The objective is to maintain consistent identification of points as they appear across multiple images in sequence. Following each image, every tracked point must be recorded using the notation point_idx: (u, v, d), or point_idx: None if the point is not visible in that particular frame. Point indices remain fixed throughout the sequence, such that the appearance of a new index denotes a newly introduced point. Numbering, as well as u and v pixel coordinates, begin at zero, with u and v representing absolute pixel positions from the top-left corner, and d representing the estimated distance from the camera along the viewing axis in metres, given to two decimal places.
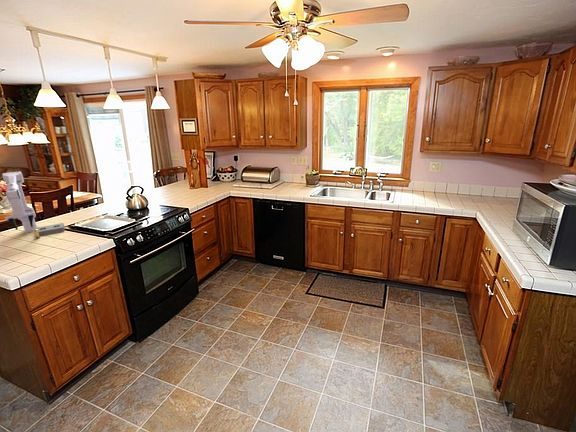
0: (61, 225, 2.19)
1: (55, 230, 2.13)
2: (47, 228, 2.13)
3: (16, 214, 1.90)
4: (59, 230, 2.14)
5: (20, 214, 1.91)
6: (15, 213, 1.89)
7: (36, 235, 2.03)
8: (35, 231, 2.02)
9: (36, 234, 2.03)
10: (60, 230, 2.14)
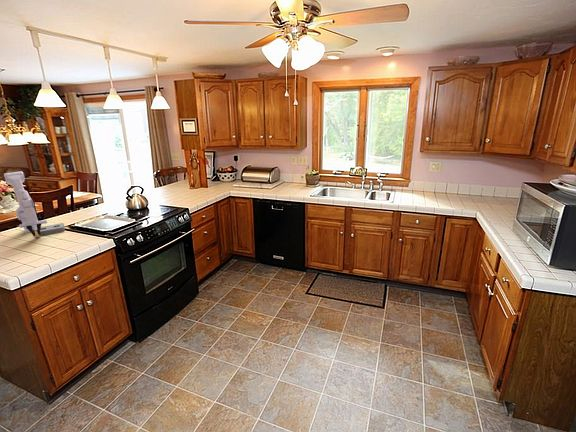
0: (61, 225, 2.19)
1: (55, 230, 2.13)
2: (47, 228, 2.13)
3: (29, 222, 1.98)
4: (59, 230, 2.14)
5: (33, 222, 1.99)
6: (28, 221, 1.98)
7: (36, 235, 2.03)
8: (35, 231, 2.02)
9: (36, 234, 2.03)
10: (60, 230, 2.14)
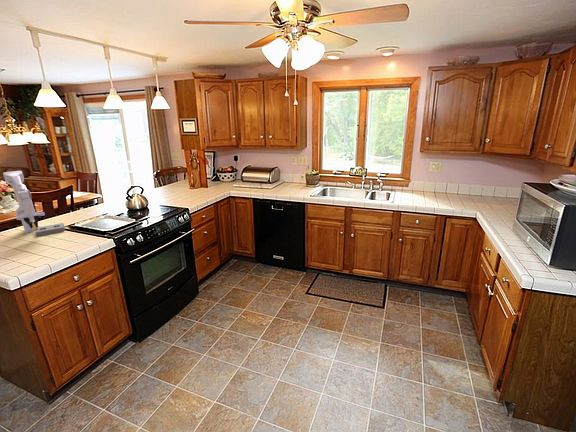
0: (61, 225, 2.19)
1: (55, 230, 2.13)
2: (47, 228, 2.13)
3: (27, 214, 1.96)
4: (59, 230, 2.14)
5: (30, 214, 1.97)
6: (26, 213, 1.96)
7: (33, 227, 2.01)
8: (32, 223, 2.00)
9: (33, 226, 2.01)
10: (60, 230, 2.14)
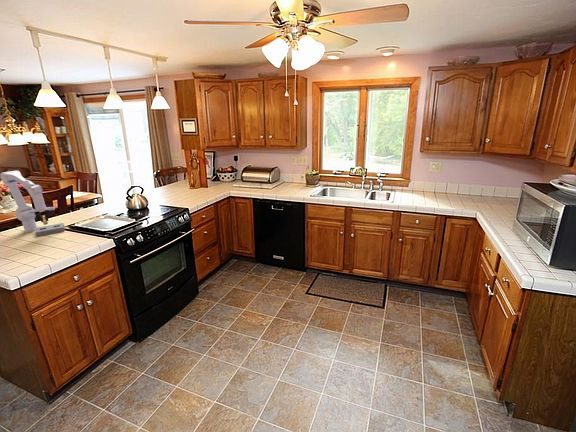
0: (61, 225, 2.19)
1: (55, 230, 2.13)
2: (47, 228, 2.13)
3: (37, 208, 2.03)
4: (59, 230, 2.14)
5: (41, 208, 2.04)
6: (37, 207, 2.03)
7: (44, 221, 2.08)
8: (43, 217, 2.07)
9: (44, 220, 2.07)
10: (60, 230, 2.14)
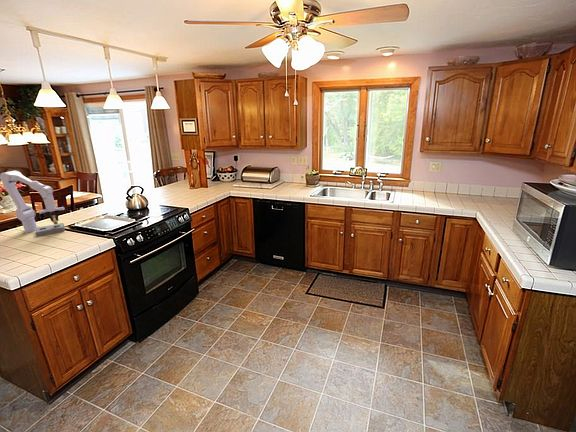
0: (61, 225, 2.19)
1: (55, 230, 2.13)
2: (47, 228, 2.13)
3: (48, 208, 2.10)
4: (59, 230, 2.14)
5: (52, 208, 2.11)
6: (47, 207, 2.10)
7: (54, 221, 2.15)
8: (53, 217, 2.14)
9: (54, 220, 2.15)
10: (60, 230, 2.14)
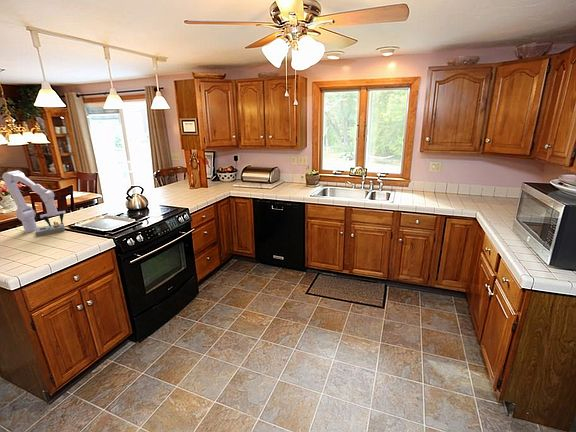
0: (61, 225, 2.19)
1: (55, 230, 2.13)
2: (47, 228, 2.13)
3: (50, 213, 2.11)
4: (59, 230, 2.14)
5: (53, 213, 2.12)
6: (49, 212, 2.11)
7: None
8: (55, 223, 2.15)
9: (56, 226, 2.16)
10: (60, 230, 2.14)
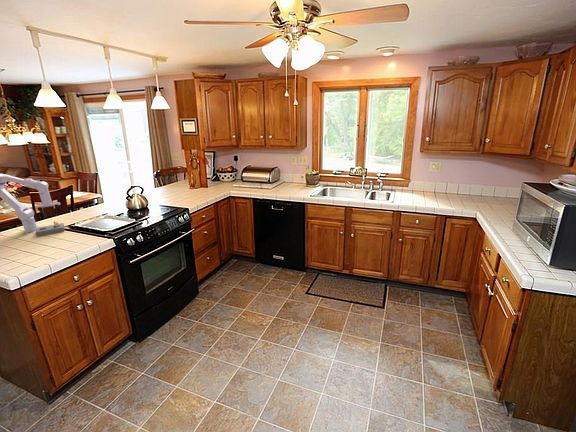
0: (61, 225, 2.19)
1: (55, 230, 2.13)
2: (47, 228, 2.13)
3: (44, 203, 2.14)
4: (59, 230, 2.14)
5: (48, 203, 2.15)
6: (43, 202, 2.14)
7: None
8: (55, 223, 2.15)
9: (56, 226, 2.16)
10: (60, 230, 2.14)
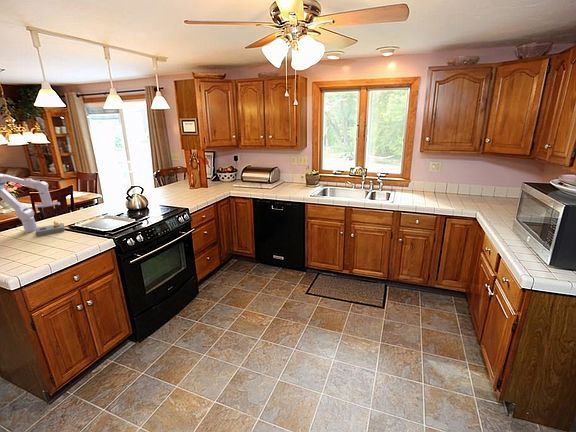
0: (61, 225, 2.19)
1: (55, 230, 2.13)
2: (47, 228, 2.13)
3: (44, 203, 2.14)
4: (59, 230, 2.14)
5: (48, 203, 2.15)
6: (43, 202, 2.14)
7: None
8: (55, 223, 2.15)
9: (56, 226, 2.16)
10: (60, 230, 2.14)
